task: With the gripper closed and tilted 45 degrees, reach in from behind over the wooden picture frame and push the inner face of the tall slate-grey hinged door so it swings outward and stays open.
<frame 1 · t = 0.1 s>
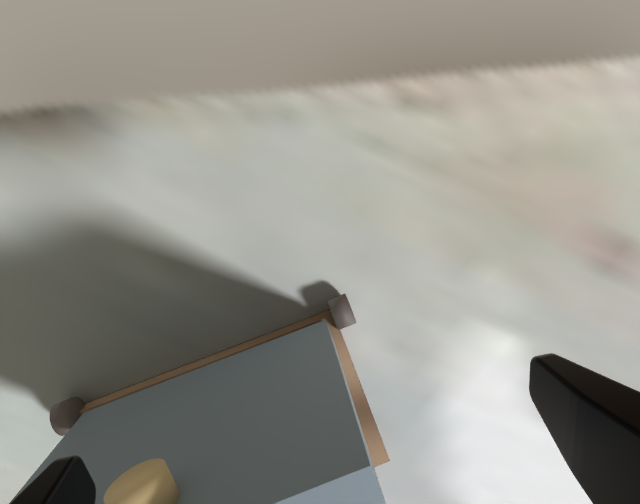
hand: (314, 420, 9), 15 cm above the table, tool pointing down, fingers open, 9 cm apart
door: (181, 432, 18), point 7 cm above the table, hinge at 0.0°
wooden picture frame: (241, 427, 26), on the table
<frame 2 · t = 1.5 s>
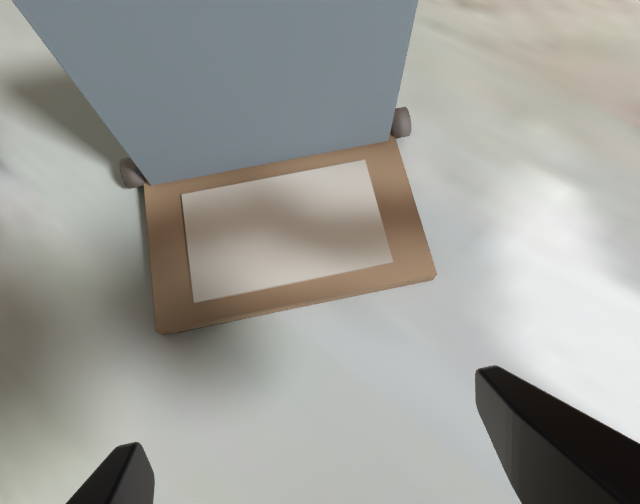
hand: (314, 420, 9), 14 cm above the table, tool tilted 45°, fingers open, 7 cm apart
door: (250, 67, 20), point 7 cm above the table, hinge at 0.0°
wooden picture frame: (284, 227, 25), on the table
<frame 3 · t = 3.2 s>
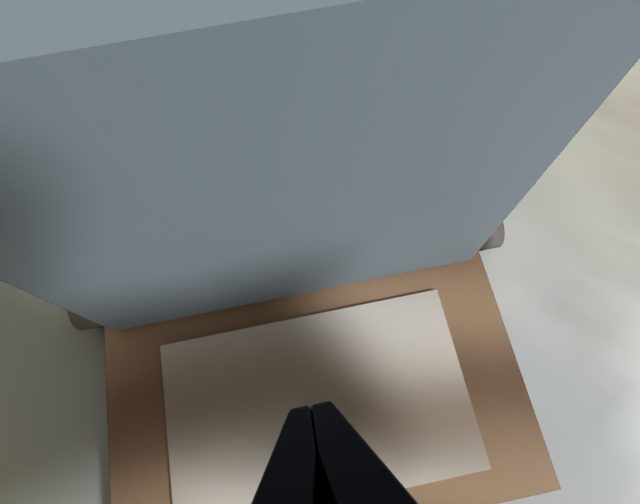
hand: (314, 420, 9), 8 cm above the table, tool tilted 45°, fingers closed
door: (271, 187, 11), point 7 cm above the table, hinge at 0.0°
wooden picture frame: (315, 391, 17), on the table
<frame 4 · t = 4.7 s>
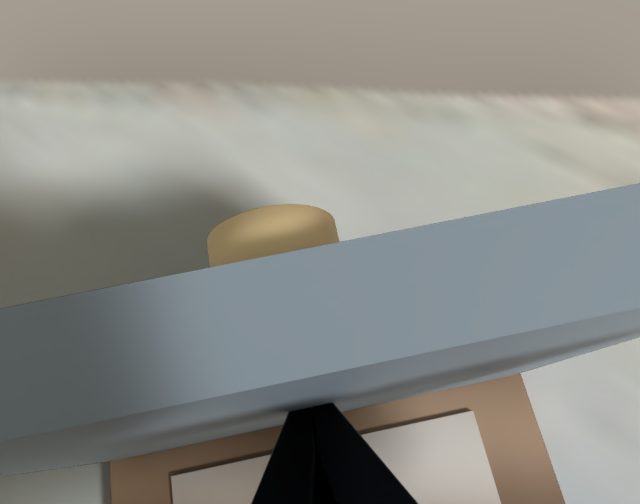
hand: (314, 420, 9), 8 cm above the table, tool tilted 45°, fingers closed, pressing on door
door: (303, 356, 10), point 7 cm above the table, hinge at 0.2°, touching gripper
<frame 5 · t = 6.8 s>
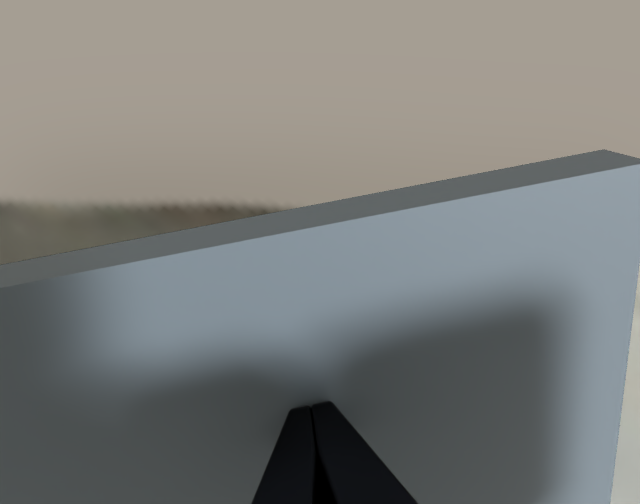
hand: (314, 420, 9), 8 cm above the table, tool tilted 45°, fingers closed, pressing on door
door: (323, 454, 11), point 5 cm above the table, hinge at 46.9°, touching gripper
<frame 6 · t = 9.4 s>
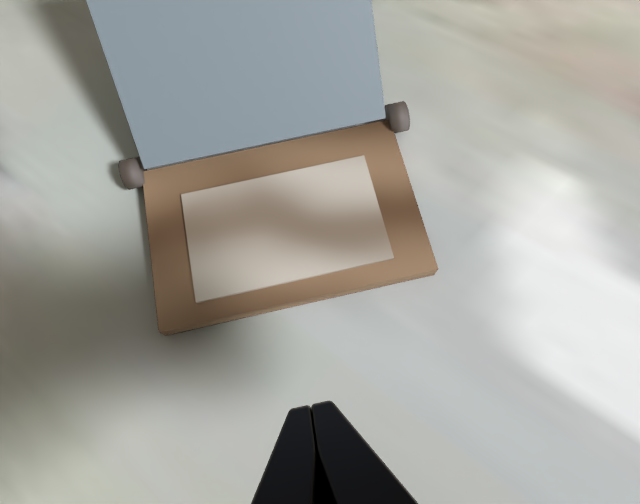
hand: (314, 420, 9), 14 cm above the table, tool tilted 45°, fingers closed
door: (238, 19, 23), point 5 cm above the table, hinge at 47.1°
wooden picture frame: (284, 225, 25), on the table
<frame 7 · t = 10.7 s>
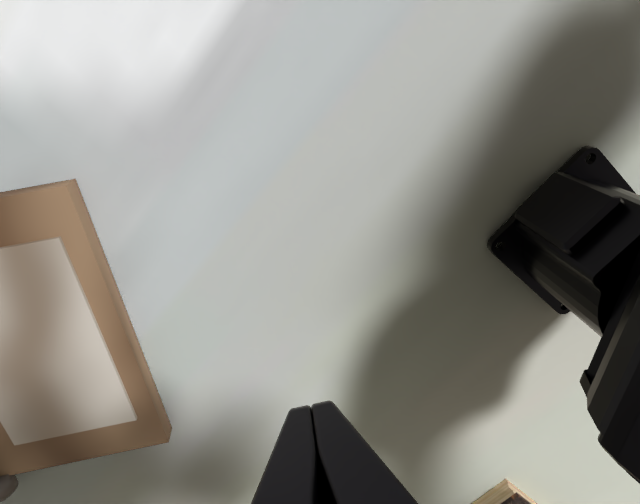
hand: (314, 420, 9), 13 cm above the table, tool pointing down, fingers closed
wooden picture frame: (34, 338, 22), on the table
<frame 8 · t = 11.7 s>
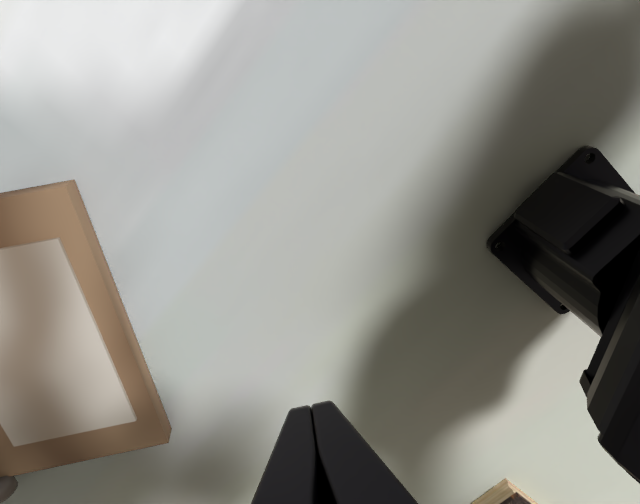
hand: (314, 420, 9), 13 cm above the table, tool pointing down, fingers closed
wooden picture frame: (34, 339, 22), on the table
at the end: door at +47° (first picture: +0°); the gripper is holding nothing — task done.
